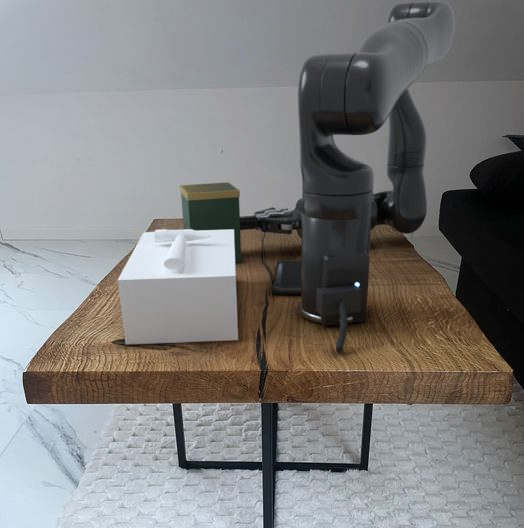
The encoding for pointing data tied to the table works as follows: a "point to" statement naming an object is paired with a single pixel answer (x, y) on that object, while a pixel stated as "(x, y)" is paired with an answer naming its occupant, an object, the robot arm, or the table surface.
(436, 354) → the table surface
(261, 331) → the table surface
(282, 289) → the phone
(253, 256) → the table surface
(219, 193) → the tea tin
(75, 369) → the table surface
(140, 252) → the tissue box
